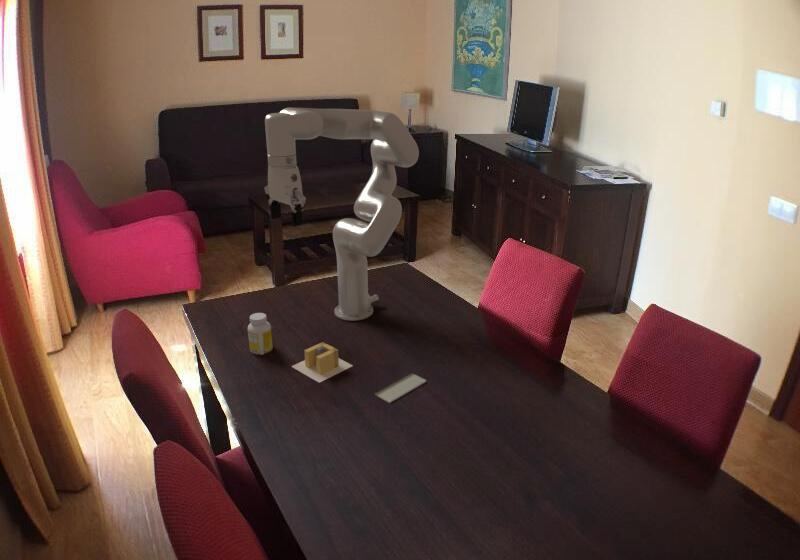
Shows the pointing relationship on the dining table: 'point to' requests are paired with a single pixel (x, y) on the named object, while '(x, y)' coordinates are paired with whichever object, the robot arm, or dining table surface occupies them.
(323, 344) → the c link
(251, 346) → the pill bottle
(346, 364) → the stand
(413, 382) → the mat
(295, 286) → the dining table surface
